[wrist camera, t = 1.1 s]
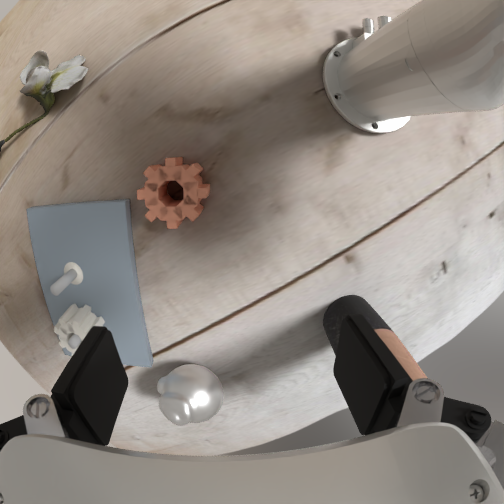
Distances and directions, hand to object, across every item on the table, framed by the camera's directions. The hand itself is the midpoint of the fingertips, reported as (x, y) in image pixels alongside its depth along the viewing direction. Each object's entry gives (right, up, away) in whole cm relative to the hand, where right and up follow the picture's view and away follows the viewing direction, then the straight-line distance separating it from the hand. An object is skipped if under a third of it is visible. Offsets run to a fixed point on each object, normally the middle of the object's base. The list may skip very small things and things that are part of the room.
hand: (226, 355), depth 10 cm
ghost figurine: (-8, -14, +29) cm, 33 cm away
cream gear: (-23, -6, +23) cm, 33 cm away
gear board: (-22, -1, +23) cm, 31 cm away
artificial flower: (-29, +23, +14) cm, 40 cm away
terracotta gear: (-7, +11, +19) cm, 24 cm away
